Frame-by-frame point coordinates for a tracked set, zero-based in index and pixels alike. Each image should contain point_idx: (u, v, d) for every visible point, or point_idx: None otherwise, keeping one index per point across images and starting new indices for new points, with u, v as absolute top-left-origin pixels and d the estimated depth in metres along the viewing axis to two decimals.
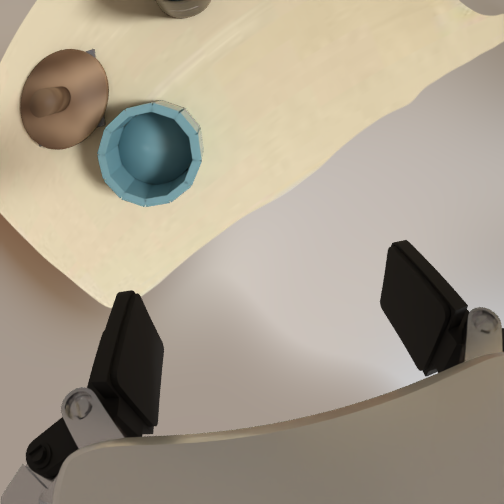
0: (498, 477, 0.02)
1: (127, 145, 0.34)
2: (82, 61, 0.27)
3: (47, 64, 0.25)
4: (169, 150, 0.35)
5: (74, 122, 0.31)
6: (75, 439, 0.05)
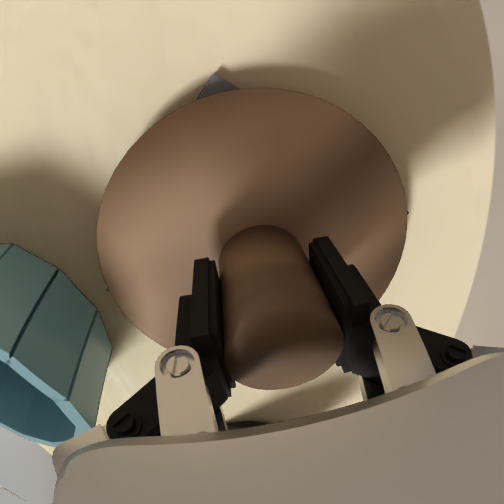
0: (498, 477, 0.02)
1: None
2: None
3: None
4: None
5: (160, 256, 0.12)
6: (158, 395, 0.06)
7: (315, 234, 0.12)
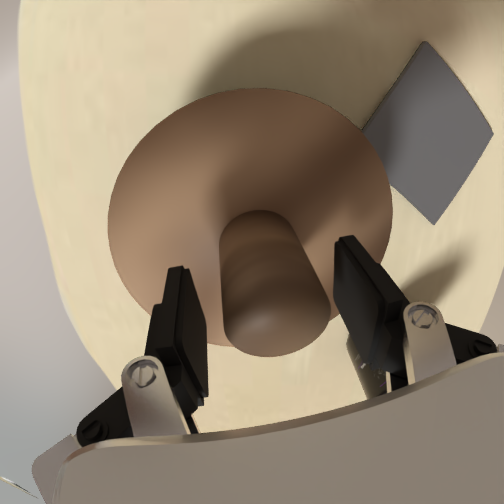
0: (498, 477, 0.02)
1: None
2: None
3: None
4: None
5: (165, 239, 0.13)
6: (128, 406, 0.06)
7: (306, 219, 0.13)
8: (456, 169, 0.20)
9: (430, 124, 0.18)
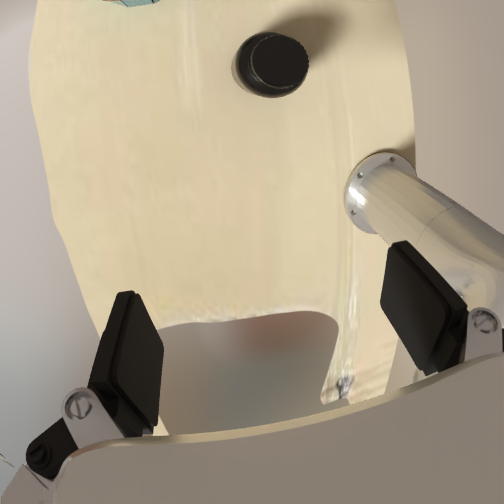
0: (498, 477, 0.02)
1: None
2: None
3: None
4: None
5: None
6: (75, 439, 0.05)
7: None
8: None
9: None
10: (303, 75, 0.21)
